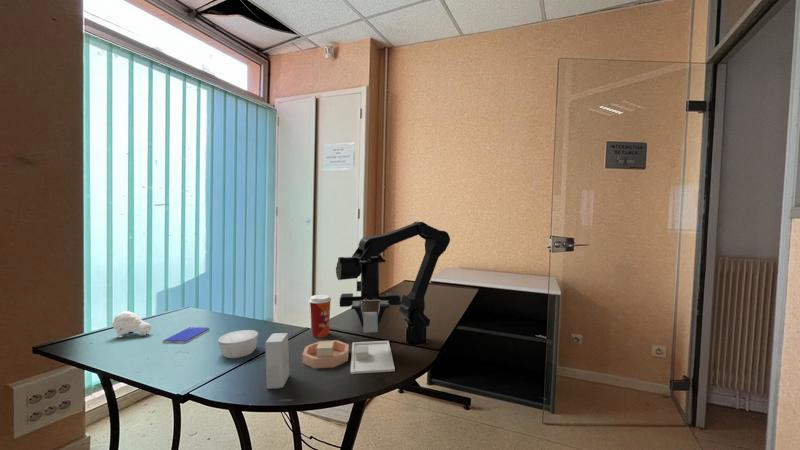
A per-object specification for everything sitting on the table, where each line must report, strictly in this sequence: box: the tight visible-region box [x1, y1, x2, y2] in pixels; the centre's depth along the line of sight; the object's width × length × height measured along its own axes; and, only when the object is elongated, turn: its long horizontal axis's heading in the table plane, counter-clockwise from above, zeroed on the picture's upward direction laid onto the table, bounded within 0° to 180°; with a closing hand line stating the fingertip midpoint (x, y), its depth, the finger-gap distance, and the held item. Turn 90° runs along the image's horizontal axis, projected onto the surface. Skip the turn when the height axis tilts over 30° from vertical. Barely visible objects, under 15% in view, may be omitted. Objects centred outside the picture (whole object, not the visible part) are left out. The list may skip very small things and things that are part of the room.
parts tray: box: [350, 340, 395, 375], centre depth 99 cm, size 12×20×1 cm, turn 7°
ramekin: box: [217, 329, 259, 359], centre depth 104 cm, size 11×11×5 cm
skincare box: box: [264, 332, 290, 390], centre depth 85 cm, size 6×4×12 cm
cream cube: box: [316, 341, 334, 357], centre depth 95 cm, size 4×4×5 cm
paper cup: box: [308, 294, 332, 338], centre depth 117 cm, size 8×8×14 cm
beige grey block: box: [356, 346, 369, 361], centre depth 99 cm, size 4×5×2 cm
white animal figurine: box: [111, 310, 152, 337], centre depth 118 cm, size 6×8×12 cm
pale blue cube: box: [362, 311, 379, 334], centre depth 104 cm, size 4×4×5 cm
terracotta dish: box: [302, 339, 350, 369], centre depth 98 cm, size 13×13×3 cm
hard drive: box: [162, 326, 210, 344], centre depth 117 cm, size 2×8×12 cm
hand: (370, 326), depth 104 cm, fingers closed on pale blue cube, 4 cm apart
